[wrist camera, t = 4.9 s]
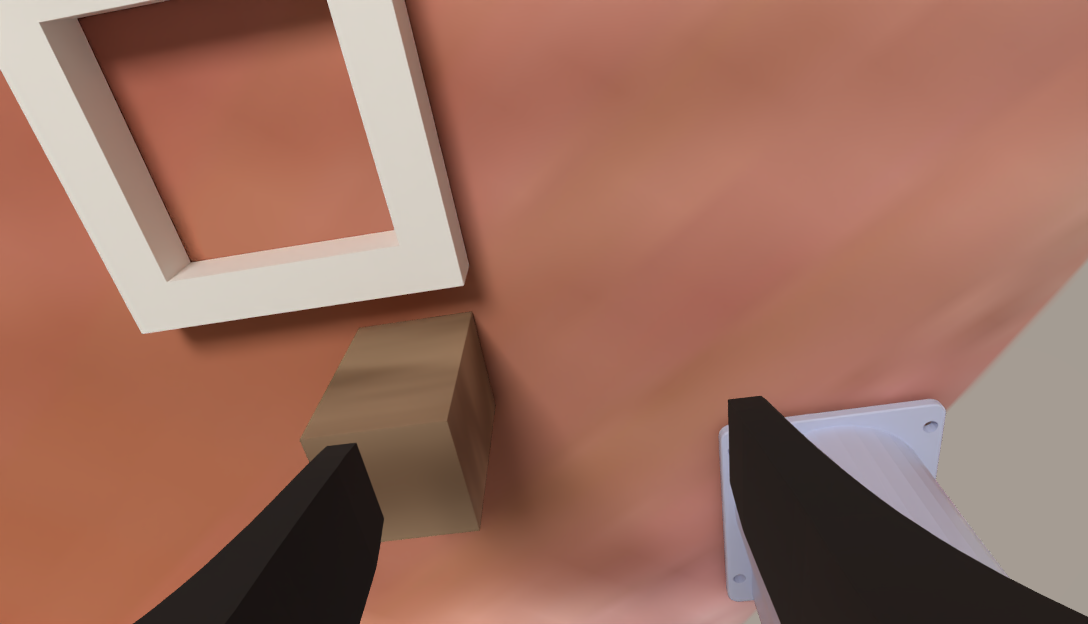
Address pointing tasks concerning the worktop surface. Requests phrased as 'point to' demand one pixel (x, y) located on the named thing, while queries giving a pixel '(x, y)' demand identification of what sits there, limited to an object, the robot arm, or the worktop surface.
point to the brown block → (414, 422)
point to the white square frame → (254, 278)
